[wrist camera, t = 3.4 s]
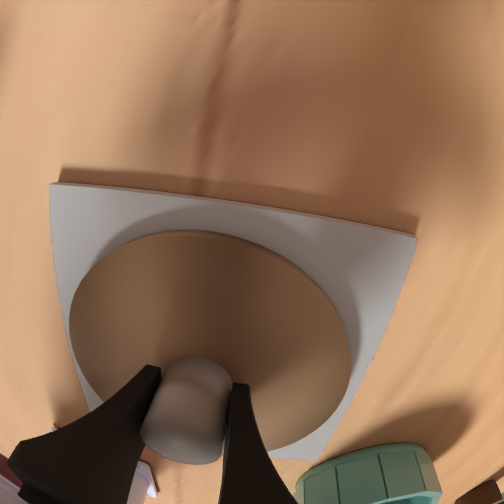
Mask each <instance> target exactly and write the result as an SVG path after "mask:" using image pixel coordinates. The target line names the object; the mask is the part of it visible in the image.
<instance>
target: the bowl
mask: <svg viewBox="0 0 504 504" xmlns="http://www.w3.org/2000/svg"><path fill="white" fill-rule="evenodd" d="M441 495H442V490H441V487H440V484H439V480H438V477H437V474H436V471H435V468H434V465H433V463H432V460H431V457H430V456H429V455H427V452H426V450H425V449H424V447H422V446H420V445H417V444H413V443H392V444H385V445H379V446H374V447H369V448H365V449H361V450H357V451H354V452H351V453H347V454H344V455H341V456H338V457H336V458H333V459H331V460H328V461H326V462H323V463H321V464H319V465H317V466H315V467H314V468H312V469H310V470H309V471H307V472H306V473H304V474H303V475H302V476H301V477H300V478H299V479H298V481H297V483H296V492H295V493H294V498H295V500H296V501H297V502H298V504H437V503H438V502H439V499H440V497H441Z"/></svg>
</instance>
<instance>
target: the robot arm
mask: <svg viewBox="0 0 504 504" xmlns="http://www.w3.org/2000/svg"><path fill="white" fill-rule="evenodd" d="M161 379H162V378H161V367H157V366H153V365H149V364H147V365H145V366H144V367H143V368H142V369H141V370H140V371H139V372H138V373H137V374H136V375H135V376H134V377H133V378H132V379H131V380H130V381H129V382H128V383H127V384H125V385H124V386H123V387H122V388H121V389H120V390H119V391H117V392H116V393H115V394H114V395H113V396H112V397H110V398H109V399H108V400H106V401H105V402H104V403H102V404H101V405H100V406H98V407H97V408H96V409H94V410H93V411H91V412H90V413H88V414H86V415H85V416H83V417H81V418H80V419H78V420H76V421H74V422H72V423H70V424H68V425H66V426H64V427H62V428H60V429H57V428H55V427H52V429H51V432H50V433H47V434H45V435H42V436H38V437H35V438H31V439H28V440H24V441H20V442H19V444H18V445H17V446H16V448H15V449H14V451H13V453H12V454H11V456H10V457H9V459H8V461H7V465H8V466H9V468H10V469H11V470H12V471H13V472H14V473H15V474H16V475H17V476H18V477H19V479H20V480H21V481H22V482H23V485H22V487H21V488H19V487H17V486H16V485H14V484H13V483H11V482H10V481H8V480H7V479H6V478H4V477H3V476H2V475H0V504H144V501H145V498H146V495H147V496H151V497H155V498H156V497H157V496H158V493H157V490H156V487H155V483H154V480H153V477H152V473H151V470H150V467H149V465H148V464H146V463H144V462H141V461H139V458H140V456H141V453H142V451H143V449H144V447H145V443H144V441H143V440H142V438H141V436H140V429H141V426H142V424H143V421H144V419H145V417H146V414H147V412H148V409H149V407H150V405H151V402H152V400H153V398H154V395H155V393H156V391H157V388H158V386H159V384H160V381H161ZM218 504H298V502H297V501H296V500H295V498H294V497H293V496H292V494H291V493H290V492H289V490H288V489H287V487H286V486H285V484H284V482H283V481H282V479H281V478H280V476H279V474H278V473H277V471H276V469H275V467H274V465H273V463H272V461H271V459H270V457H269V455H268V453H267V451H266V448H265V446H264V443H263V441H262V438H261V436H260V433H259V430H258V426H257V423H256V420H255V416H254V412H253V407H252V402H251V395H250V386H249V385H248V384H243V383H236V382H233V384H232V390H231V396H230V402H229V409H228V418H227V425H226V431H225V437H224V454H223V473H222V484H221V490H220V496H219V502H218Z"/></svg>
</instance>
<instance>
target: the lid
mask: <svg viewBox="0 0 504 504" xmlns="http://www.w3.org/2000/svg"><path fill="white" fill-rule="evenodd" d="M69 334H70V340H71V345H72V349H73V352H74V355H75V358H76V361H77V363H78V365H79V367H80V370H81V372H82V373H83V375H84V377H85V378H86V380H87V382H88V383H89V385H90V386H91V387H92V389H93V390H94V391H95V393H96V394H97V395H98V396H99V397H100V399H101V400H102V401H103V402H105V401H106V400H108V399H109V398H110V397H112V396H113V395H114V394H115V393H116V392H117V391H119V390H120V389H121V388H122V387H123V386H124V385H125V384H127V383H128V382H129V381H130V380H131V379H132V378H133V377H134V376H135V375H136V374H137V373H138V372H139V371H140V370H141V369H142V368H143V367H144V366H145V365H147V364H149V365H153V366H157V367H161V378H162V379H161V381H160V384H159V386H158V388H157V391H156V393H155V395H154V398H153V400H152V402H151V405H150V407H149V409H148V412H147V414H146V417H145V419H144V421H143V424H142V426H141V429H140V436H141V438H142V440H143V441H144V443H145V444H146V445H147V446H148V447H149V448H151V449H152V450H153V451H155V452H156V453H158V454H160V455H161V456H163V457H166V458H168V459H171V460H173V461H177V462H181V463H185V464H194V465H201V464H209V463H212V462H214V461H216V460H218V459H219V458H220V456H221V455H223V454H224V437H225V431H226V425H227V418H228V409H229V402H230V396H231V390H232V384H233V382H236V383H243V384H248V385H249V386H250V395H251V402H252V407H253V412H254V416H255V420H256V423H257V426H258V430H259V433H260V436H261V438H262V441H263V443H264V446H265V448H266V451H267V452H269V451H272V450H276V449H279V448H282V447H285V446H288V445H290V444H293V443H295V442H297V441H299V440H301V439H303V438H305V437H306V436H308V435H309V434H311V433H312V432H314V431H315V430H317V429H318V428H319V427H320V426H322V425H323V424H324V423H325V422H326V421H327V420H328V419H329V418H330V417H331V416H332V414H333V413H334V412H335V411H336V410H337V408H338V406H339V405H340V403H341V401H342V400H343V398H344V396H345V393H346V391H347V388H348V385H349V381H350V376H351V352H350V346H349V341H348V338H347V335H346V332H345V329H344V326H343V324H342V321H341V319H340V316H339V314H338V312H337V310H336V309H335V307H334V305H333V304H332V302H331V300H330V299H329V297H328V296H327V295H326V294H325V292H324V291H323V290H322V289H321V288H320V286H319V285H318V284H317V283H316V282H315V281H314V280H313V279H312V278H311V277H310V276H308V275H307V274H306V273H305V272H304V271H303V270H302V269H301V268H299V267H298V266H296V265H295V264H293V263H292V262H290V261H289V260H287V259H286V258H284V257H283V256H281V255H280V254H278V253H276V252H274V251H272V250H270V249H268V248H266V247H264V246H262V245H260V244H257V243H254V242H251V241H248V240H245V239H242V238H239V237H237V236H232V235H227V234H223V233H218V232H213V231H202V230H190V229H188V230H170V231H163V232H158V233H153V234H148V235H144V236H142V237H139V238H136V239H134V240H131V241H128V242H127V243H125V244H123V245H121V246H120V247H118V248H116V249H114V250H113V251H111V252H110V253H109V254H108V255H106V256H105V257H104V258H102V259H101V260H100V261H99V262H98V263H97V264H95V265H94V266H93V267H92V268H91V269H90V270H89V271H88V273H87V274H86V275H85V276H84V278H83V279H82V280H81V282H80V284H79V286H78V288H77V290H76V291H75V294H74V297H73V300H72V303H71V307H70V315H69Z"/></svg>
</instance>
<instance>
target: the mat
mask: <svg viewBox="0 0 504 504" xmlns="http://www.w3.org/2000/svg"><path fill="white" fill-rule="evenodd" d="M49 207H50V227H51V240H52V251H53V260H54V268H55V275H56V282H57V289H58V295H59V300H60V306H61V311H62V316H63V321H64V325H65V330H66V334H67V338H68V342H69V346H70V350H71V354H72V358H73V361H74V365H75V368H76V372H77V375H78V378H79V382H80V385H81V388H82V391H83V394H84V397H85V400H86V402H87V405H88V408H89V411H90V412H91V411H93V410H94V409H96V408H97V407H98V406H100V405H101V404H102V403H104V402H103V401H102V400H101V399H100V397H99V396H98V395H97V394H96V393H95V391H94V390H93V389H92V387H91V386H90V385H89V383H88V382H87V380H86V378H85V377H84V375H83V373H82V372H81V370H80V367H79V365H78V363H77V361H76V358H75V355H74V352H73V349H72V345H71V340H70V334H69V315H70V307H71V303H72V300H73V297H74V294H75V291H76V290H77V288H78V286H79V284H80V282H81V280H82V279H83V278H84V276H85V275H86V274H87V273H88V271H89V270H90V269H91V268H92V267H93V266H94V265H95V264H97V263H98V262H99V261H100V260H101V259H102V258H104V257H105V256H106V255H108V254H109V253H110V252H111V251H113V250H114V249H116V248H118V247H120V246H121V245H123V244H125V243H127V242H128V241H131V240H134V239H136V238H139V237H142V236H144V235H148V234H153V233H158V232H163V231H170V230H188V229H190V230H202V231H213V232H218V233H223V234H227V235H232V236H237V237H239V238H242V239H245V240H248V241H251V242H254V243H257V244H260V245H262V246H264V247H266V248H268V249H270V250H272V251H274V252H276V253H278V254H280V255H281V256H283V257H284V258H286V259H287V260H289V261H290V262H292V263H293V264H295V265H296V266H298V267H299V268H301V269H302V270H303V271H304V272H305V273H306V274H307V275H308V276H310V277H311V278H312V279H313V280H314V281H315V282H316V283H317V284H318V285H319V286H320V288H321V289H322V290H323V291H324V292H325V294H326V295H327V296H328V297H329V299H330V300H331V302H332V304H333V305H334V307H335V309H336V310H337V312H338V314H339V316H340V319H341V321H342V324H343V326H344V329H345V332H346V335H347V338H348V341H349V346H350V352H351V376H350V381H349V385H348V388H347V391H346V393H345V396H344V398H343V400H342V401H341V403H340V405H339V406H338V408H337V410H336V411H335V412H334V413H333V414H332V416H331V417H330V418H329V419H328V420H327V421H326V422H325V423H324V424H323V425H322V426H320V427H319V428H318V429H317V430H315V431H314V432H312V433H311V434H309V435H308V436H306V437H305V438H303V439H301V440H299V441H297V442H295V443H293V444H290V445H288V446H285V447H282V448H279V449H276V450H272V451H269V452H267V453H268V455H269V457H270V458H276V459H291V460H317V458H318V457H319V455H320V454H321V452H322V450H323V449H324V447H325V446H326V444H327V443H328V441H329V439H330V438H331V436H332V434H333V433H334V431H335V429H336V428H337V426H338V424H339V423H340V421H341V419H342V417H343V416H344V414H345V412H346V410H347V408H348V407H349V405H350V403H351V401H352V399H353V397H354V396H355V394H356V392H357V390H358V388H359V386H360V384H361V382H362V380H363V378H364V376H365V374H366V372H367V370H368V368H369V366H370V364H371V361H372V359H373V357H374V355H375V353H376V351H377V348H378V346H379V344H380V342H381V339H382V337H383V335H384V332H385V330H386V328H387V325H388V323H389V320H390V318H391V315H392V313H393V310H394V308H395V305H396V302H397V300H398V297H399V294H400V292H401V289H402V286H403V283H404V280H405V278H406V275H407V272H408V269H409V266H410V262H411V259H412V256H413V253H414V250H415V246H416V243H417V240H418V238H416V237H415V236H414V235H412V234H410V233H405V232H401V231H396V230H392V229H387V228H382V227H377V226H372V225H368V224H363V223H358V222H352V221H347V220H342V219H337V218H332V217H326V216H321V215H315V214H310V213H304V212H298V211H292V210H286V209H281V208H274V207H268V206H262V205H256V204H249V203H243V202H236V201H229V200H222V199H215V198H208V197H200V196H193V195H185V194H177V193H169V192H161V191H152V190H143V189H134V188H124V187H114V186H103V185H92V184H80V183H67V182H55V183H51V184H49Z"/></svg>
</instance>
